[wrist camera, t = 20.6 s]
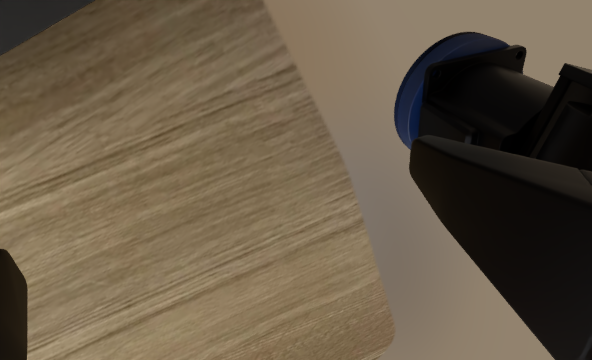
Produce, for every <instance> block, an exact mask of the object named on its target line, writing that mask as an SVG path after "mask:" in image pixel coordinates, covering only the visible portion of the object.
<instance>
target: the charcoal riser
mask: <svg viewBox="0 0 592 360" xmlns="http://www.w3.org/2000/svg"><path fill="white" fill-rule="evenodd" d="M93 1H95V0H0V56H1V55H2V54H4V53H6V52H8V51H9V50H11V49H13V48H14V47H16V46H18V45H20V44H21V43H23V42H25V41H26V40H28V39H30V38H32V37H33V36H35V35H37V34H38V33H40V32H42V31H44V30H45V29H47V28H49V27H50V26H52V25H54V24H56V23H57V22H59V21H61V20H62V19H64V18H66V17H68V16H69V15H71V14H73V13H74V12H76V11H78V10H80V9H81V8H83V7H85V6H86V5H88V4H90V3H92V2H93Z"/></svg>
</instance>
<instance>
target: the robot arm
mask: <svg viewBox="0 0 592 360" xmlns="http://www.w3.org/2000/svg"><path fill="white" fill-rule="evenodd" d="M516 54H517V55H516ZM525 57H526V48H524V47H523V46H520V45H513V46H509V47H504V48H499V49H495V50H490V51H486V52H481V53H477V54H472V55H467V56H463V57H458V58H454V59H449V60H445V61H440V62H436V63H432V64H430V65H429V66H428V67H427V68H426V70H425V73H424V84H423V95H422V105H421V109H420V120H419V131H418V138H415V139H414V140H413V141H412V143H411V153H410V164H409V170H410V174H411V177H412V178H413V180H414V181H415V183H416V184H417V186H418V188H419V189H420V190H421V192H422V193H423V195H424V197H425V198H426V200H427V201H428V203H429V204H430V205H431V207H432V209H433V210H434V212H435V213H436V215H437V216H438V218H439V219H440V221H441V222H442V223H443V225H444V226H445V227H446V228H447V230H448V231H449V232H450V233H451V235H452V236H453V237H454V238H455V239H456V241H457V242H458V243H459V244H460V245H461V247H462V248H463V249H464V250H465V252H466V253H467V254H468V255H469V256H470V258H471V259H472V260H473V261H474V262H475V264H476V265H477V266H478V267H479V268H480V270H481V271H482V272H483V273H484V275H485V276H486V277H487V278H488V279H489V280H490V282H491V283H492V284H493V285H494V287H495V288H496V289H497V290H498V291H499V292H500V294H501V295H502V296H503V297H504V299H505V300H506V301H507V302H508V304H509V305H510V306H511V307H512V308H513V309H514V311H515V312H516V313H517V314H518V316H519V317H520V318H521V319H522V320H523V321H524V323H525V324H526V325H527V326H528V328H529V329H530V330H531V331H532V333H533V334H534V335H535V336H536V337H537V338H538V340H539V341H540V342H541V343H542V345H543V346H544V347H545V348H546V349H547V351H548V352H549V353H550V354H551V356H552V357H553V358H554V359H555V360H592V70H590V69H586V68H582V67H578V66H574V65H571V64H567V63H565V64H564V66H563V67H562V69H561V71H560V73H559V75H560V77H559V79H558V81H557V83H556V85H555V86H554V87H552V86H550V85H547V84H545V83H542V82H540V81H538V80H535V79H533V78H530V77H528V76H525V75H523V74H522V70H523V66H524V62H525ZM435 70H436V73H435V75H434V76H433V72H434V71H435ZM0 360H27V283H26V280H25V278H24V276H23V274H22V273H21V271H20V270H19V268H18V266H17V265H16V263H15V262H14V260H13V258H12V257H11V255H10V254H9V253H8V252H7V251H6V250H4V249H0Z"/></svg>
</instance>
